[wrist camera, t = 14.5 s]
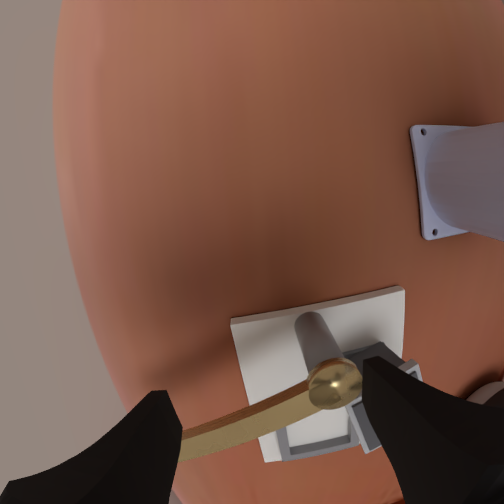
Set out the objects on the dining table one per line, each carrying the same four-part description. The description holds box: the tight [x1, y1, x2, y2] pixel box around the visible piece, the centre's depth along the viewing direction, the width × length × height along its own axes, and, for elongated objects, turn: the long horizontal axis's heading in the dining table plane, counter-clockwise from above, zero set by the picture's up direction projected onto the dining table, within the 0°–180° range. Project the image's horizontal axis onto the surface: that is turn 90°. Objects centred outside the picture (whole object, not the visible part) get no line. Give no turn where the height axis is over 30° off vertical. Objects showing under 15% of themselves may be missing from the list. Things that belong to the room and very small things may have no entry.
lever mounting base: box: [230, 285, 405, 462], centre depth 18 cm, size 12×15×7 cm
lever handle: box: [178, 357, 363, 462], centre depth 14 cm, size 3×14×2 cm, turn 121°
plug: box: [345, 341, 423, 454], centre depth 16 cm, size 5×5×6 cm
